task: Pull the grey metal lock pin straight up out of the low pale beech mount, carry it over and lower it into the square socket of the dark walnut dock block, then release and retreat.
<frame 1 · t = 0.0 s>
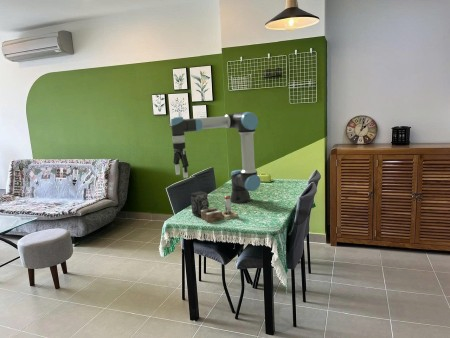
hand: (181, 176, 213), 28 cm above the table, fingers open, 13 cm apart
dock block: (211, 219, 214), on the table
mount block: (228, 216, 217), on the table
lock pin: (227, 206, 216), in the mount block
camera: (201, 215, 223), on the table
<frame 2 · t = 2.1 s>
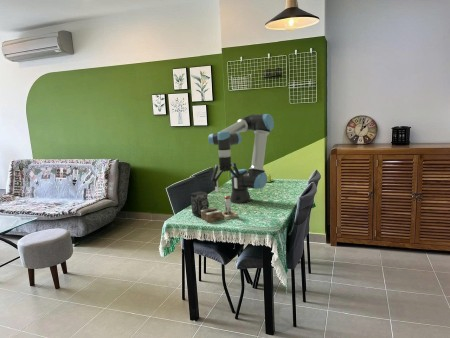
hand: (226, 189, 214), 18 cm above the table, fingers open, 13 cm apart
nothing on the table moved.
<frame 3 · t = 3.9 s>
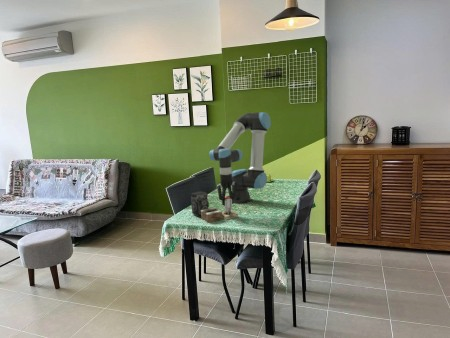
hand: (228, 209, 216), 5 cm above the table, fingers closed on lock pin, 3 cm apart
lock pin: (227, 206, 216), in the mount block, touching gripper
everything else where it was.
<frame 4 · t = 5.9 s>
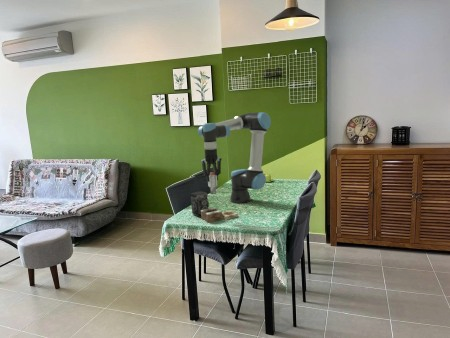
hand: (212, 186, 210), 21 cm above the table, fingers closed on lock pin, 3 cm apart
lock pin: (212, 183, 210), point 23 cm above the table, touching gripper
everything else where it was.
when the fingers open (8 cm above the table, at t = 8.2 s): lock pin drops 3 cm, resting in dock block.
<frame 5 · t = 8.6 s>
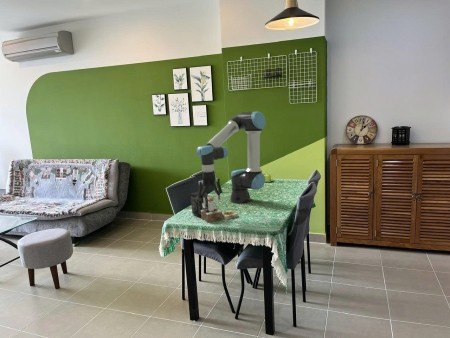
hand: (210, 206, 212), 8 cm above the table, fingers open, 9 cm apart
lock pin: (211, 209, 213), resting in dock block
everything else where it was.
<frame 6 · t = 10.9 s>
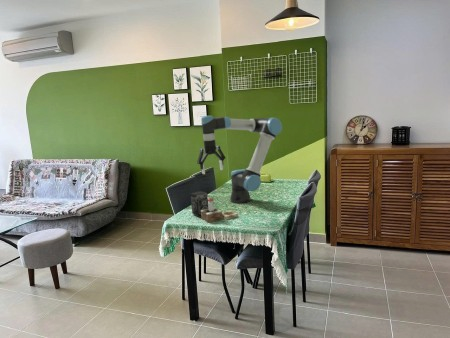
hand: (212, 172, 223), 27 cm above the table, fingers open, 13 cm apart
nothing on the table moved.
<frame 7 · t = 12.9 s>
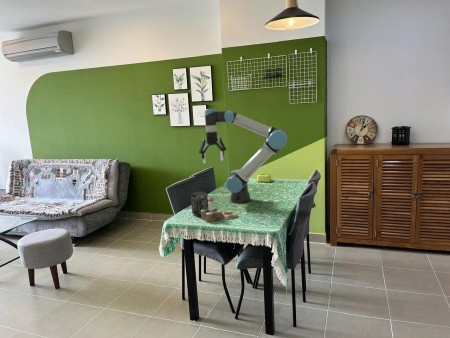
hand: (213, 161, 237), 32 cm above the table, fingers open, 13 cm apart
nothing on the table moved.
at the end: lock pin 0.0 cm off-centre on the dock block, point 6.6 cm above the dock block's base; lock pin tilted 0°; the gripper is holding nothing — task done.
